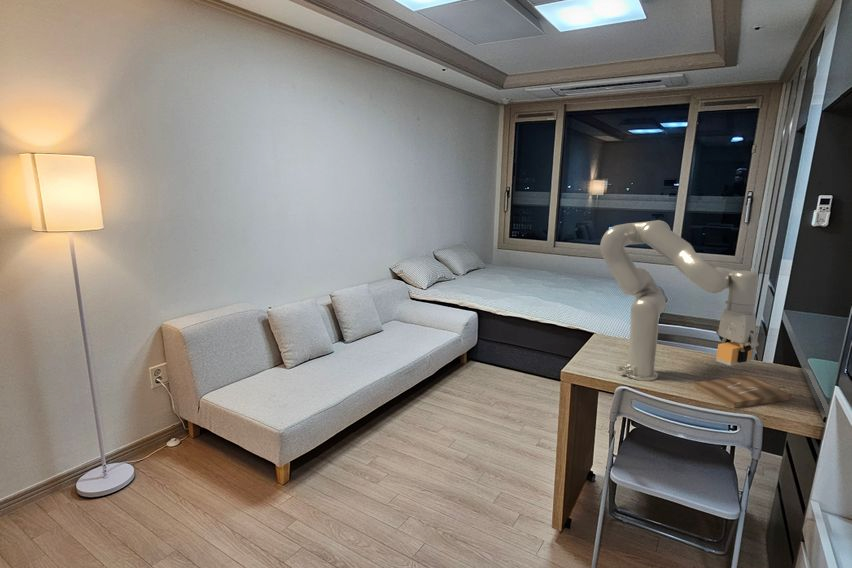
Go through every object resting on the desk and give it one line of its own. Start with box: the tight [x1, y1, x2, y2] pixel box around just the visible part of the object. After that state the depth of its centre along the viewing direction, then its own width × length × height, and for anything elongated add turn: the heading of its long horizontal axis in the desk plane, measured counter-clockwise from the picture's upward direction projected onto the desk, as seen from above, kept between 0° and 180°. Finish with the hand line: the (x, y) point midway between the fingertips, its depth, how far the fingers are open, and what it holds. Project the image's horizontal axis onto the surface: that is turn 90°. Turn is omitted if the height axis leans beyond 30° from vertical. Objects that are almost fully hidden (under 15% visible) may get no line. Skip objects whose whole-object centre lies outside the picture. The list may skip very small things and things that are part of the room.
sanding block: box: [715, 341, 753, 367], centre depth 151 cm, size 10×5×6 cm, turn 111°
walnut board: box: [693, 375, 793, 409], centre depth 156 cm, size 24×16×2 cm, turn 104°
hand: (733, 358), depth 152 cm, fingers closed on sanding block, 5 cm apart
